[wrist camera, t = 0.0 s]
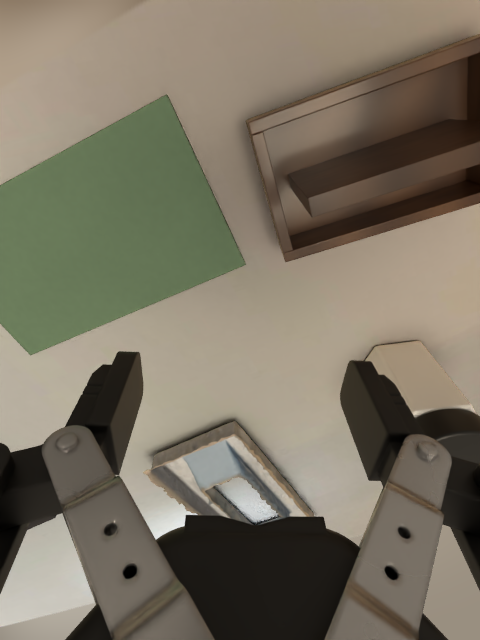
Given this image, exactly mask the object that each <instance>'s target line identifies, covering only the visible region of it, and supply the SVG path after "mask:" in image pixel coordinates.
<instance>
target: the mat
mask: <svg viewBox="0 0 480 640" xmlns="http://www.w3.org/2000/svg"><path fill="white" fill-rule="evenodd" d="M244 265H246V264H245V262H244V259H243V257H242V255H241V253H240V251H239V249H238V246H237V244H236V242H235V240H234V238H233V236H232V234H231V231H230V229H229V227H228V225H227V223H226V221H225V218H224V216H223V214H222V212H221V210H220V208H219V206H218V203H217V201H216V199H215V197H214V195H213V193H212V190H211V188H210V186H209V184H208V182H207V180H206V178H205V175H204V173H203V171H202V169H201V167H200V165H199V162H198V160H197V158H196V156H195V154H194V152H193V150H192V147H191V145H190V143H189V141H188V139H187V137H186V134H185V132H184V130H183V128H182V126H181V124H180V122H179V119H178V117H177V115H176V113H175V111H174V109H173V106H172V104H171V102H170V100H169V98H168V96H167V95H165V96H163V97H161V98H160V99H158V100H156V101H154V102H152V103H150V104H149V105H147V106H145V107H143V108H141V109H139V110H138V111H136V112H134V113H132V114H130V115H128V116H127V117H125V118H123V119H121V120H119V121H117V122H116V123H114V124H112V125H110V126H108V127H106V128H105V129H103V130H101V131H99V132H97V133H95V134H94V135H92V136H90V137H88V138H86V139H85V140H83V141H81V142H79V143H77V144H75V145H74V146H72V147H70V148H68V149H66V150H64V151H63V152H61V153H59V154H57V155H55V156H53V157H52V158H50V159H48V160H46V161H44V162H42V163H41V164H39V165H37V166H35V167H33V168H31V169H30V170H28V171H26V172H24V173H22V174H21V175H19V176H17V177H15V178H13V179H11V180H10V181H8V182H6V183H4V184H2V185H0V324H1V325H2V326H3V327H4V328H5V329H6V330H7V331H8V332H9V333H10V334H11V335H12V336H13V338H14V339H15V340H16V341H17V342H18V343H19V344H20V345H21V346H22V347H23V348H24V349H25V350H26V351H27V352H28V353H29V354H30V355H32V354H35V353H37V352H39V351H42V350H44V349H47V348H49V347H51V346H54V345H56V344H58V343H61V342H63V341H66V340H68V339H70V338H73V337H75V336H77V335H80V334H82V333H85V332H87V331H89V330H92V329H94V328H96V327H99V326H101V325H104V324H106V323H108V322H111V321H113V320H115V319H118V318H120V317H123V316H125V315H127V314H130V313H132V312H135V311H137V310H139V309H142V308H144V307H146V306H149V305H151V304H154V303H156V302H158V301H161V300H163V299H165V298H168V297H170V296H173V295H175V294H177V293H180V292H182V291H184V290H187V289H189V288H192V287H194V286H196V285H199V284H201V283H203V282H206V281H208V280H211V279H213V278H215V277H218V276H220V275H223V274H225V273H227V272H230V271H232V270H234V269H237V268H239V267H242V266H244Z"/></svg>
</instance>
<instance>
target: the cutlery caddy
mask: <svg viewBox="0 0 480 640" xmlns="http://www.w3.org/2000/svg"><path fill="white" fill-rule="evenodd" d="M246 124H247V128H248V132H249V135H250V139H251V143H252V146H253V150H254V154H255V157H256V161H257V165H258V168H259V172H260V176H261V179H262V183H263V187H264V190H265V194H266V198H267V201H268V205H269V208H270V212H271V216H272V219H273V223H274V227H275V230H276V234H277V238H278V241H279V245H280V248H281V251H282V254H283V256H284V259H285V262H288V261H291V260H295V259H298V258H301V257H305V256H308V255H311V254H314V253H318V252H321V251H324V250H327V249H331V248H334V247H337V246H341V245H344V244H347V243H350V242H354V241H357V240H360V239H364V238H367V237H370V236H373V235H377V234H380V233H383V232H387V231H390V230H393V229H396V228H400V227H403V226H406V225H410V224H413V223H416V222H419V221H423V220H426V219H429V218H432V217H436V216H439V215H442V214H446V213H449V212H452V211H455V210H459V209H462V208H465V207H469V206H472V205H475V204H478V203H480V34H478V35H475V36H472V37H469V38H466V39H464V40H461V41H458V42H456V43H453V44H450V45H447V46H445V47H442V48H439V49H437V50H434V51H431V52H428V53H426V54H423V55H420V56H418V57H415V58H412V59H409V60H407V61H404V62H401V63H399V64H396V65H393V66H391V67H388V68H385V69H382V70H380V71H377V72H374V73H372V74H369V75H366V76H363V77H361V78H358V79H355V80H353V81H350V82H347V83H344V84H342V85H339V86H336V87H334V88H331V89H328V90H326V91H323V92H320V93H317V94H315V95H312V96H309V97H307V98H304V99H301V100H298V101H296V102H293V103H290V104H288V105H285V106H282V107H279V108H277V109H274V110H271V111H269V112H266V113H263V114H260V115H258V116H255V117H252V118H250V119H247V120H246Z"/></svg>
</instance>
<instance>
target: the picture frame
mask: <svg viewBox="0 0 480 640" xmlns="http://www.w3.org/2000/svg"><path fill="white" fill-rule="evenodd" d="M143 473H144V474H146V475H148V477H149V479H150V481H151V482H153V483H154V484H155V485H157V486H159V487H162V488H164V489H165V490H164V491H165V492H167V495H168V496H169V497H171V498H175V499H176V500H177V502H178V503H179V504H181V503H182V504H183V505H184V506H185V509H186V511H190V512H191V513H197V514H198V515H218V516H224V517H227V518H231V519H234V520H238V521H242V522H245V523H249V524H252V523H250V521H248V520H247V519H246V518H245V517H244V516H243V515H242V514H241V513H240V512H239V511H238V510H237V509H235V508H234V507H233V506H232V505H231V504H230V503H229V502H228V501H227V500H226V499H225V498H224V497H223V496H222V495H221V494H220V493H219V492H218V491H216V490H215V488H213V487H214V486H216V485H217V484H220V485H221V484H223V483H225V482H226V481H227V482H229V481H230V480H231V479H232V478H237V477H240V478H243V479H245V480H247V481H248V483H249V484H251V485H252V488H254V489H255V490H257V492H258V493H259V494H260V497H261V499H262V500H266V503H267V504H268V505H271V509H273V510H275V511H276V513H279V514H278V515H279V516H280V517H278V518H275V519H273V520H270V521H267V522H271V521H275V520H279V519H282V518H286V517H290V516H295V517H314V514H313V513H312V511H311V510H310V509H309V508H308V507H307V505H305V502H304V501H302V500H301V499H300V497H299V496H298V494H297V493H296V492H295V491H294V490H293V488H292V487H291V486H290V484H288V483H287V481H286V480H285V479H284V478H283V477H282V476H281V475H280V473H279V472H278V471H277V469H276V467H274V466H273V465H272V464H271V463H270V461H269V460H268V459H267V457H266V456H265V455H264V454H263V453H262V452H261V451H260V449H259V448H258V447H257V446H256V445H255V444H254V442H253V441H252V440H251V439H250V438H249V436H248V435H247V434H246V433H245V431H244V430H243V429H242V428H241V427H240V426H239V425H238V424H237V423H236V422H235V421H233V422H231V423H228V424H225V425H223V426H221V427H219V428H216V429H214V430H212V431H209V432H208V433H205V434H202V435H200V436H197V437H195V438H193V439H191V440H189V441H185V442H183V443H180V444H179V445H176V446H174V447H172V448H170V449H167V450H165V451H162V452H160V453H157V454H155V455H154V460H153V464H152V468H151V470H146V471H144V472H143ZM267 522H264V523H267ZM264 523H261V524H264ZM252 525H253V524H252ZM258 525H260V524H258Z"/></svg>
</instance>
